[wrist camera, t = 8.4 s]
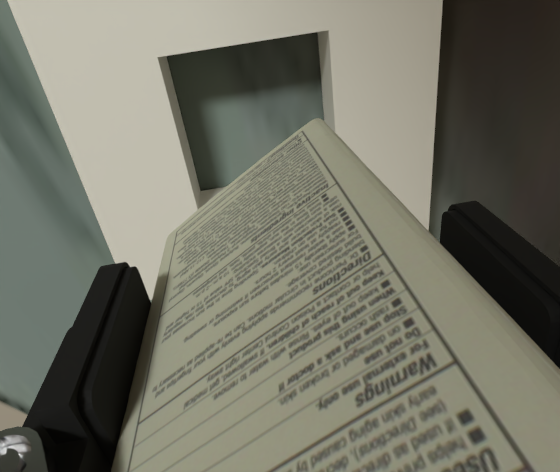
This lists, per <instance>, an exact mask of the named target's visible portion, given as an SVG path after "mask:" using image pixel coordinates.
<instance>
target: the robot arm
mask: <svg viewBox="0 0 560 472" xmlns="http://www.w3.org/2000/svg"><path fill="white" fill-rule="evenodd" d="M440 244H441V245H442V246H443V247H444V248H445V249H446V250H447V251H448V252H449V253H450V254H451V255H452V256H453V257H454V258H455V259H456V260H457V262H458V263H459V264H460V265H461V266H462V267H463V268H464V269H465V270H466V271H467V272H468V273H469V274H470V275H471V276H472V277H473V278H474V279H475V280H476V281H477V282H478V284H479V285H480V286H481V287H482V288H483V289H484V290H485V291H486V292H487V293H488V294H489V295H490V296H491V297H492V298H493V299H494V300H495V301H496V302H497V303H498V304H499V305H500V306H501V307H502V308H503V309H504V311H505V312H506V313H507V314H508V315H509V316H510V317H511V318H512V319H513V320H514V321H515V322H516V323H517V324H518V325H519V326H520V327H521V328H522V330H523V331H524V332H525V333H526V334H527V335H528V336H529V337H530V338H531V339H532V340H533V341H534V342H535V343H536V344H537V345H538V347H539V348H540V349H541V350H542V351H543V352H544V353H545V354H546V355H547V356H548V357H549V358H550V359H551V360H552V361H553V362H554V363H555V365H556V366H557V367H558V368H559V369H560V267H559V266H558V265H556V264H555V263H554V262H553V261H551V260H550V259H549V258H548V257H546V256H545V255H544V254H543V253H541V252H540V251H539V250H538V249H536V248H535V247H534V246H533V245H531V244H530V243H529V242H528V241H526V240H525V239H524V238H523V237H521V236H520V235H519V234H518V233H516V232H515V231H514V230H513V229H511V228H510V227H509V226H508V225H506V224H505V223H504V222H503V221H501V220H500V219H499V218H498V217H496V216H495V215H494V214H493V213H491V212H490V211H489V210H488V209H486V208H485V207H484V206H483V205H481V204H480V203H479V202H477V201H470V202H465V203H459V204H453V205H451V206H450V207H449V209H448V211H447V212H444V213H443V215H442V221H441V234H440ZM150 307H151V302H150V299H149V297H148V294H147V291H146V289H145V286H144V283H143V281H142V278H141V276H140V273H139V271H138V269H137V267H135V266H134V267H130V266H129V265H128V263H126V262H122V263H116V264H111V265H105V266H101V267H100V268H99V270H98V272H97V274H96V277H95V279H94V281H93V283H92V285H91V287H90V289H89V292H88V294H87V296H86V298H85V300H84V302H83V305H82V307H81V309H80V311H79V313H78V315H77V318H76V320H75V322H74V324H73V326H72V327H71V328H70V329H69V330H68V332H67V333H66V335H65V337H64V339H63V342H62V344H61V346H60V348H59V350H58V352H57V354H56V356H55V358H54V361H53V363H52V365H51V367H50V369H49V371H48V373H47V375H46V378H45V380H44V382H43V384H42V386H41V388H40V390H39V392H38V395H37V397H36V399H35V401H34V403H33V405H32V407H31V409H30V412H29V414H28V416H27V418H26V420H25V422H24V424H23V426H22V427H14V428H10V429H5V430H3V431H0V472H111V469H112V465H113V460H114V456H115V452H116V448H117V444H118V440H119V435H120V431H121V427H122V423H123V419H124V416H125V412H126V408H127V404H128V399H129V393H130V389H131V385H132V381H133V377H134V373H135V369H136V364H137V360H138V356H139V352H140V348H141V344H142V339H143V335H144V331H145V327H146V323H147V319H148V315H149V311H150Z"/></svg>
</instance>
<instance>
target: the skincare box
mask: <svg viewBox="0 0 560 472" xmlns="http://www.w3.org/2000/svg"><path fill="white" fill-rule="evenodd" d="M111 472H560V369H559V368H558V367H557V366H556V365H555V363H554V362H553V361H552V360H551V359H550V358H549V357H548V356H547V355H546V354H545V353H544V352H543V351H542V350H541V349H540V348H539V347H538V345H537V344H536V343H535V342H534V341H533V340H532V339H531V338H530V337H529V336H528V335H527V334H526V333H525V332H524V331H523V330H522V328H521V327H520V326H519V325H518V324H517V323H516V322H515V321H514V320H513V319H512V318H511V317H510V316H509V315H508V314H507V313H506V312H505V311H504V309H503V308H502V307H501V306H500V305H499V304H498V303H497V302H496V301H495V300H494V299H493V298H492V297H491V296H490V295H489V294H488V293H487V292H486V291H485V290H484V289H483V288H482V287H481V286H480V285H479V284H478V282H477V281H476V280H475V279H474V278H473V277H472V276H471V275H470V274H469V273H468V272H467V271H466V270H465V269H464V268H463V267H462V266H461V265H460V264H459V263H458V262H457V260H456V259H455V258H454V257H453V256H452V255H451V254H450V253H449V252H448V251H447V250H446V249H445V248H444V247H443V246H442V245H441V244H440V243H439V242H438V241H437V240H436V239H435V237H434V236H433V235H432V234H431V233H430V232H429V231H428V230H427V229H426V228H425V227H424V226H423V225H422V224H421V223H420V222H419V220H418V219H417V218H416V217H415V216H414V215H413V214H412V213H411V212H410V211H409V210H408V209H407V208H406V207H405V206H404V204H403V203H402V202H401V201H400V200H399V199H398V198H397V197H396V196H395V195H394V194H393V193H392V192H391V191H390V190H389V189H388V188H387V187H386V186H385V185H384V184H383V183H382V181H381V180H380V179H379V178H378V177H377V176H376V175H375V174H374V173H373V172H372V171H371V170H370V169H369V168H368V167H367V166H366V165H365V164H364V163H363V162H362V161H361V160H360V159H359V157H358V156H357V155H356V154H355V153H354V152H353V151H352V150H351V149H350V148H349V147H348V146H347V144H346V143H345V142H344V141H343V140H342V139H341V138H340V137H339V136H338V135H337V134H336V133H335V132H334V131H333V130H332V129H331V128H330V127H329V126H328V125H327V124H326V123H325V122H324V121H323V120H322V119H320V118H317V119H313V120H311V121H310V122H309V123H307V124H306V125H305V126H303V127H302V128H301V129H299V130H298V131H297V132H295V133H294V134H293V135H292V136H290V137H289V138H288V139H286V140H285V141H284V142H282V143H281V144H280V145H278V146H277V147H276V148H275V149H273V150H272V151H271V152H269V153H268V154H267V155H266V156H264V157H263V158H262V159H261V160H259V161H258V162H257V163H255V164H254V165H253V166H252V167H251V168H249V169H248V170H247V171H245V172H244V173H243V174H242V175H240V176H239V177H238V178H237V179H235V180H234V181H233V182H232V183H231V184H229V185H228V186H227V187H226V188H224V189H223V190H222V191H220V192H219V193H218V194H217V195H216V196H214V197H213V198H212V199H211V200H209V201H208V202H207V203H206V204H204V205H203V206H202V207H201V208H199V209H198V210H197V211H196V212H195V213H194V214H192V215H191V216H190V217H189V218H188V219H187V220H185V221H184V222H183V223H182V224H181V225H180V226H178V227H177V228H176V229H175V230H174V231H172V232H171V233H170V234H169V235H168V237H167V240H166V244H165V248H164V252H163V256H162V260H161V265H160V268H159V273H158V277H157V281H156V285H155V289H154V294H153V298H152V303H151V307H150V311H149V315H148V319H147V323H146V327H145V331H144V335H143V339H142V344H141V348H140V352H139V356H138V360H137V364H136V369H135V373H134V377H133V381H132V385H131V389H130V393H129V399H128V404H127V408H126V412H125V416H124V419H123V423H122V427H121V431H120V435H119V440H118V444H117V448H116V452H115V456H114V460H113V465H112V469H111Z"/></svg>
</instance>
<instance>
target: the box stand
mask: <svg viewBox="0 0 560 472" xmlns="http://www.w3.org/2000/svg"><path fill="white" fill-rule="evenodd" d="M7 1H8V3H9V5H10V8H11V10H12V13H13V15H14V18H15V20H16V22H17V25H18V27H19V30H20V32H21V35H22V37H23V40H24V42H25V44H26V47H27V49H28V52H29V54H30V57H31V59H32V61H33V64H34V66H35V69H36V71H37V74H38V76H39V79H40V81H41V83H42V86H43V88H44V91H45V93H46V96H47V98H48V100H49V103H50V105H51V108H52V110H53V113H54V115H55V117H56V120H57V122H58V125H59V127H60V130H61V132H62V135H63V137H64V139H65V142H66V144H67V147H68V149H69V152H70V154H71V156H72V159H73V161H74V164H75V166H76V169H77V171H78V173H79V176H80V178H81V181H82V183H83V186H84V188H85V191H86V193H87V195H88V198H89V200H90V203H91V205H92V208H93V210H94V212H95V215H96V217H97V220H98V222H99V225H100V227H101V230H102V232H103V234H104V237H105V239H106V242H107V244H108V247H109V249H110V251H111V254H112V256H113V259H114V261H115V264H116V263H122V262H126V263H128V265H129V266H130V267H134V266H135V267H137V269H138V271H139V273H140V276H141V278H142V281H143V283H144V286H145V289H146V291H147V294H148V297H149V299H150V300H152V298H153V294H154V289H155V285H156V281H157V277H158V273H159V268H160V265H161V260H162V256H163V252H164V248H165V244H166V240H167V237H168V235H169V234H170V233H171V232H172V231H174V230H175V229H176V228H177V227H178V226H180V225H181V224H182V223H183V222H184V221H185V220H187V219H188V218H189V217H190V216H191V215H192V214H194V213H195V212H196V211H197V210H198V209H199V208H201V207H202V206H203V205H204V204H206V203H207V202H208V201H209V200H211V199H212V198H213V197H214V196H216V195H217V194H218V193H219V192H220V191H222V190H223V189H224V188H226V187H221V188H215V189H209V190H204V191H200V187H199V183H198V179H197V175H196V171H195V167H194V163H193V159H192V155H191V151H190V147H189V143H188V139H187V135H186V131H185V127H184V124H183V120H182V116H181V112H180V108H179V104H178V100H177V96H176V92H175V88H174V84H173V80H172V76H171V72H170V68H169V64H168V60H167V56H169V55H175V54H181V53H188V52H194V51H200V50H207V49H213V48H219V47H226V46H232V45H238V44H245V43H251V42H257V41H263V40H270V39H276V38H282V37H289V36H295V35H301V34H308V33H314V32H317V33H318V46H319V59H320V72H321V85H322V98H323V111H324V122H325V123H326V124H327V125H328V126H329V127H330V128H331V129H332V130H333V131H334V132H335V133H336V134H337V135H338V136H339V137H340V138H341V139H342V140H343V141H344V142H345V143H346V144H347V146H348V147H349V148H350V149H351V150H352V151H353V152H354V153H355V154H356V155H357V156H358V157H359V159H360V160H361V161H362V162H363V163H364V164H365V165H366V166H367V167H368V168H369V169H370V170H371V171H372V172H373V173H374V174H375V175H376V176H377V177H378V178H379V179H380V180H381V181H382V183H383V184H384V185H385V186H386V187H387V188H388V189H389V190H390V191H391V192H392V193H393V194H394V195H395V196H396V197H397V198H398V199H399V200H400V201H401V202H402V203H403V204H404V206H405V207H406V208H407V209H408V210H409V211H410V212H411V213H412V214H413V215H414V216H415V217H416V218H417V219H418V220H419V222H420V223H421V224H422V225H423V226H424V227H425V228H426V229H427V230H428V231H429V216H430V199H431V183H432V167H433V151H434V134H435V118H436V102H437V86H438V69H439V53H440V37H441V21H442V5H443V0H7Z"/></svg>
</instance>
